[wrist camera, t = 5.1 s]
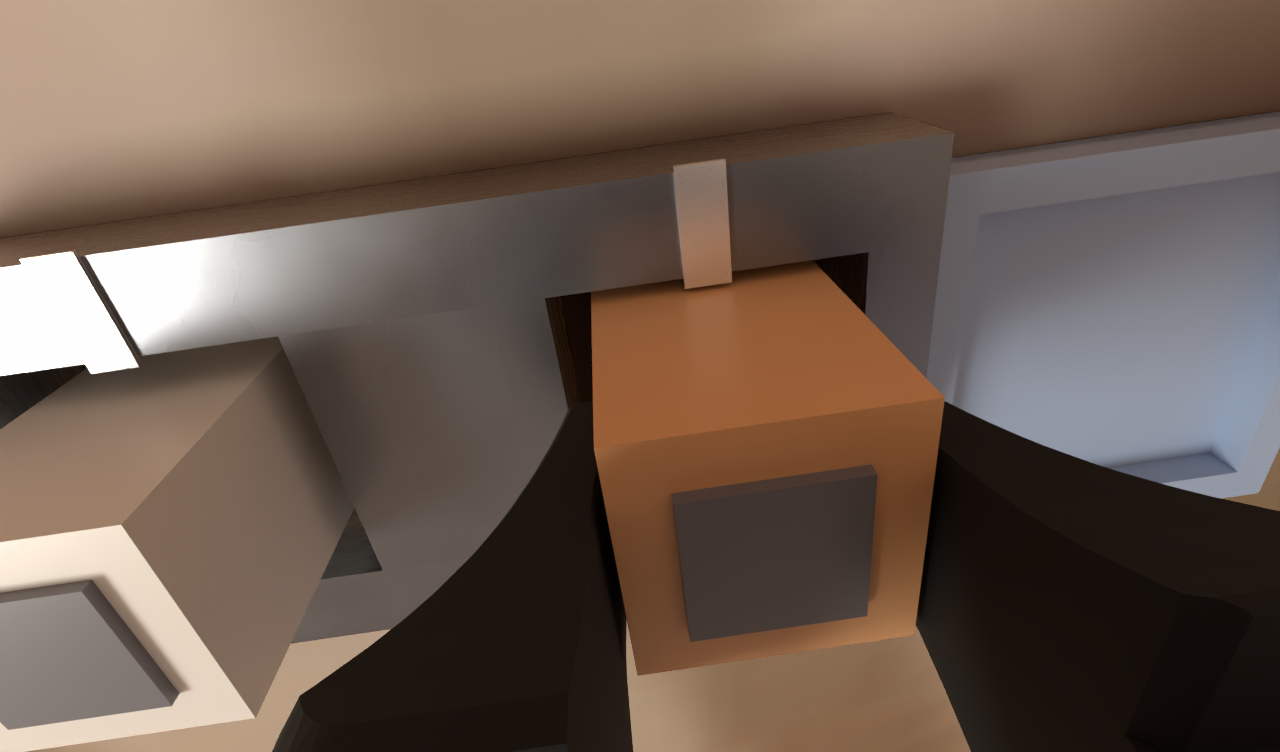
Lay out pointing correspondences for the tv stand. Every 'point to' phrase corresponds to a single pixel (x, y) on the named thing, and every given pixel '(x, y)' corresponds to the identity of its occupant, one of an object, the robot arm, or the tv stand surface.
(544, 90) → the tv stand surface
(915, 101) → the tv stand surface
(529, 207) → the grey rectangular holder
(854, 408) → the plug
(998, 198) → the tray
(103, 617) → the beige box
